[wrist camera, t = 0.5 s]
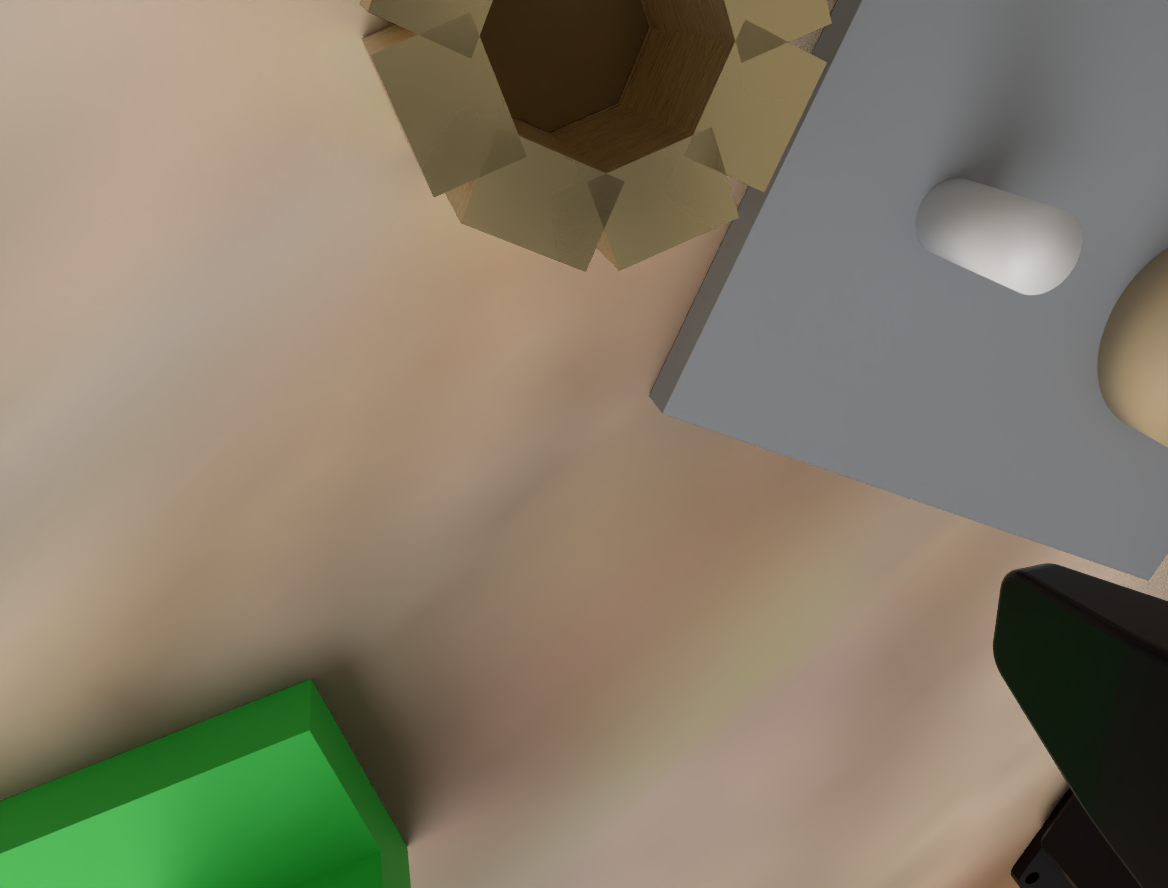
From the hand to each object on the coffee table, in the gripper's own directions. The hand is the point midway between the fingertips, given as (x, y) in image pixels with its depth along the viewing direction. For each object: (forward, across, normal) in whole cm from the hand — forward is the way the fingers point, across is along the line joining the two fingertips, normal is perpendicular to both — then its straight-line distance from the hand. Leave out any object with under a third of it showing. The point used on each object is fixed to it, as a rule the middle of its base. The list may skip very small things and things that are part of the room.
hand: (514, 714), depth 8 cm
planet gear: (+13, -3, -4) cm, 14 cm away
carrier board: (+13, -14, +1) cm, 19 cm away
